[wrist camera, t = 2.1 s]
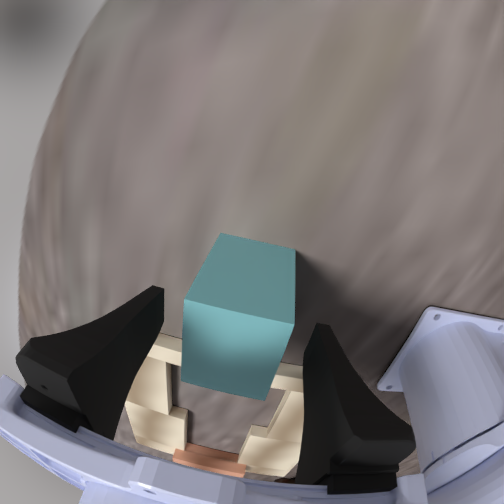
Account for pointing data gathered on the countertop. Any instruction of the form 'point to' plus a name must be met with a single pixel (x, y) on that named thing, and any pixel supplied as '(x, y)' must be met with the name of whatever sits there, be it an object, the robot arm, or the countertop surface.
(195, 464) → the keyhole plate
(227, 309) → the slider block
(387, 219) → the countertop surface
